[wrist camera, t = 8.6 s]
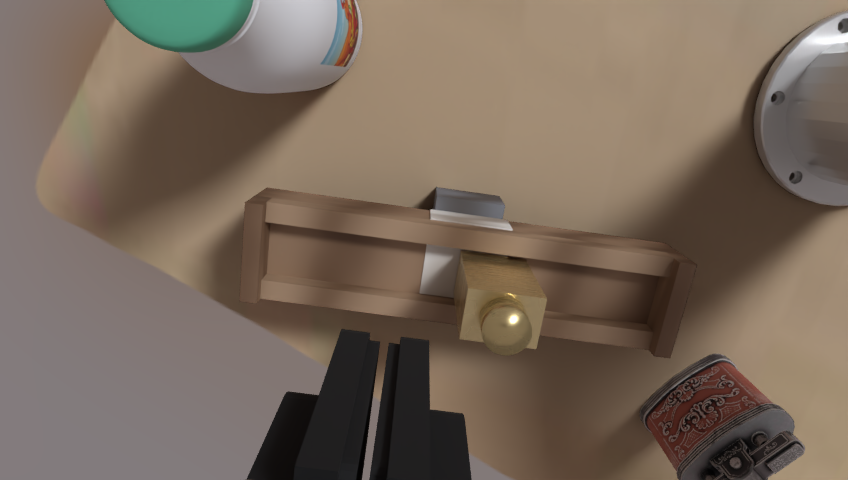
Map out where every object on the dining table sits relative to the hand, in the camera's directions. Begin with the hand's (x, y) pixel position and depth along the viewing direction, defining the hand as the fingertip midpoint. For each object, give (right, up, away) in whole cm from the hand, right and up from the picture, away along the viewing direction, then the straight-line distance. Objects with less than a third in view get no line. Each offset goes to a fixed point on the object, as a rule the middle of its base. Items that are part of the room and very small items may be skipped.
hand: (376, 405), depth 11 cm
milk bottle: (-7, +17, +26) cm, 31 cm away
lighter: (+21, -8, +33) cm, 40 cm away
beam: (+3, +3, +29) cm, 30 cm away
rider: (+5, +1, +24) cm, 25 cm away
